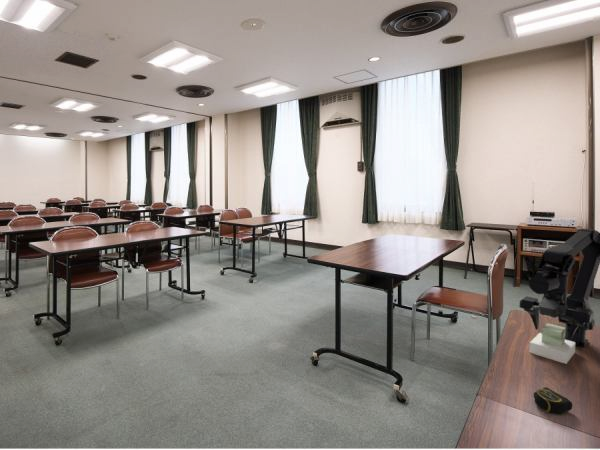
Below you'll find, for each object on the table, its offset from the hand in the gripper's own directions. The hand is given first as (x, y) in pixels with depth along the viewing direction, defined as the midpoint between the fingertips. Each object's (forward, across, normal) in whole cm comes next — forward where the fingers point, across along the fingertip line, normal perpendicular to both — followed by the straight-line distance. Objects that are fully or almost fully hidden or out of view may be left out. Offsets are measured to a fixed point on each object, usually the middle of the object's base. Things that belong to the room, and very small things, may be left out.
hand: (553, 333), depth 113 cm
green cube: (+3, 0, 0) cm, 3 cm away
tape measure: (+7, +8, -32) cm, 33 cm away
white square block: (+7, 0, 0) cm, 7 cm away
